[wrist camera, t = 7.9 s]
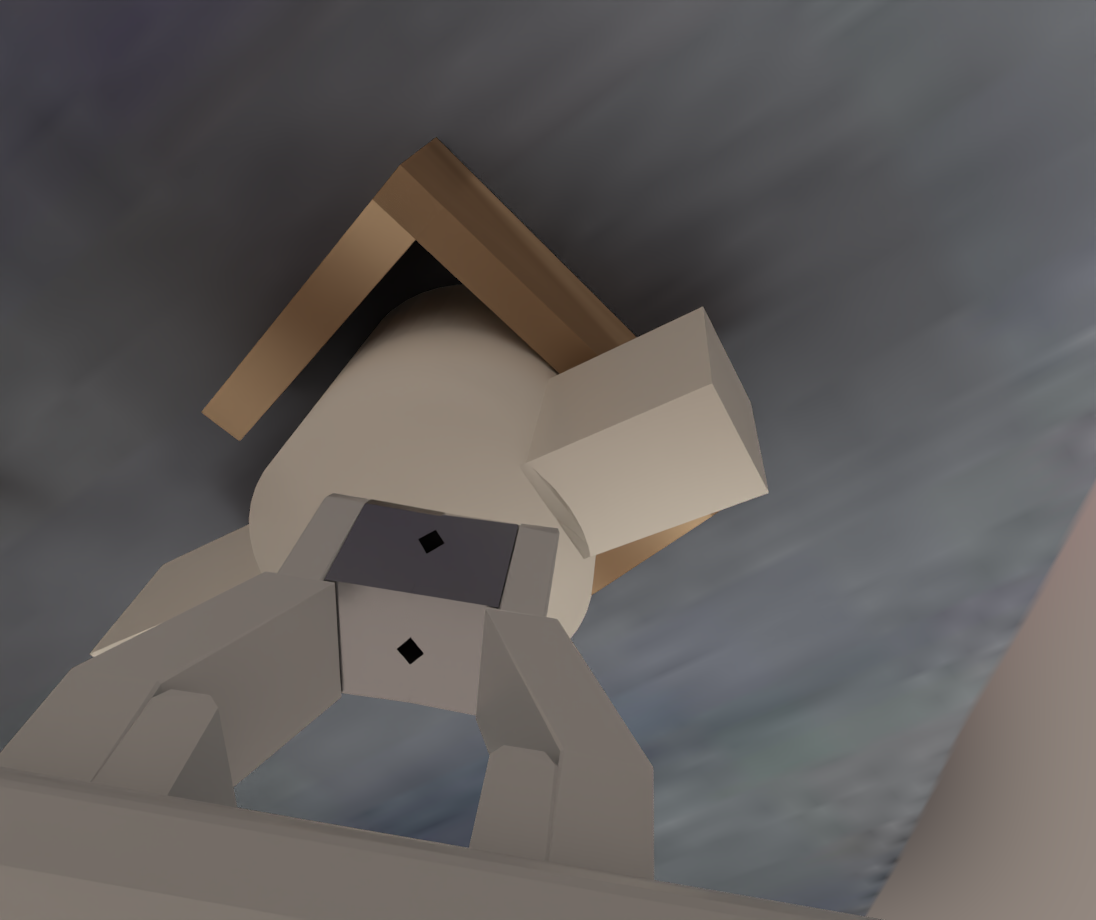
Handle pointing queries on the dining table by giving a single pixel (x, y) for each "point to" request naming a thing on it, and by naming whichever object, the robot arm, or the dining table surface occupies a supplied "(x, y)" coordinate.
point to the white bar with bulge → (495, 447)
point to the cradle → (475, 260)
